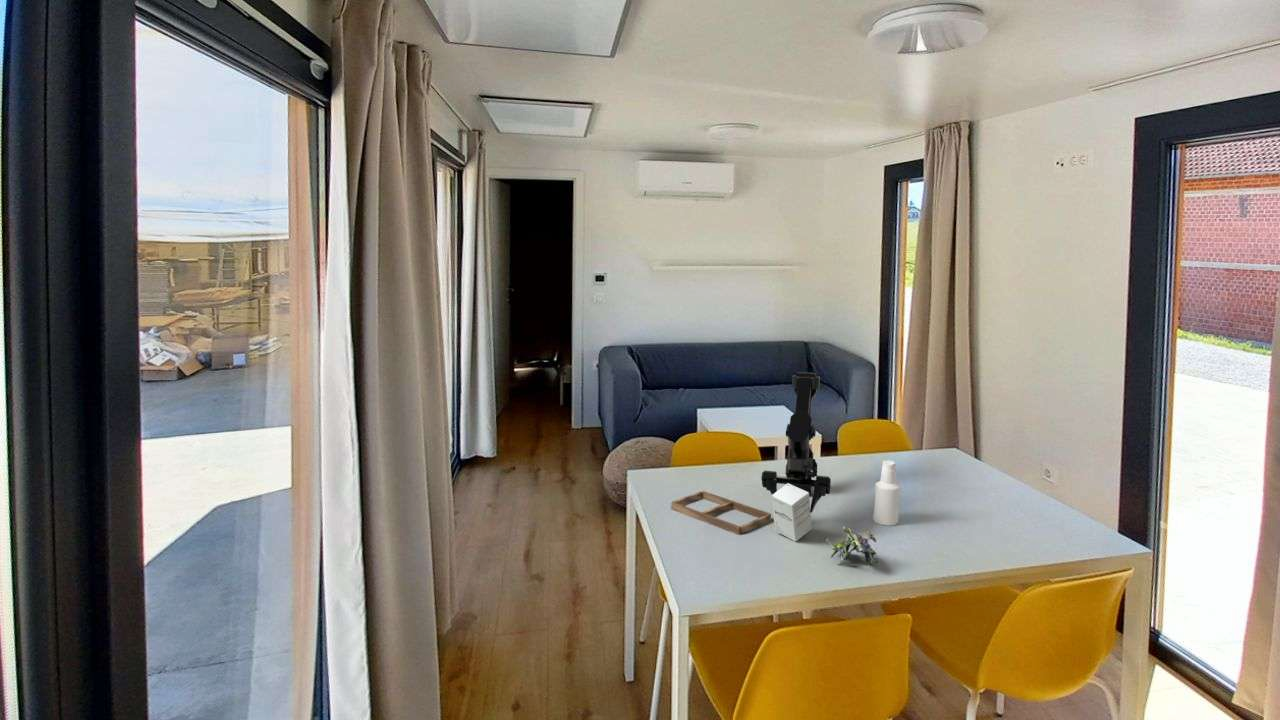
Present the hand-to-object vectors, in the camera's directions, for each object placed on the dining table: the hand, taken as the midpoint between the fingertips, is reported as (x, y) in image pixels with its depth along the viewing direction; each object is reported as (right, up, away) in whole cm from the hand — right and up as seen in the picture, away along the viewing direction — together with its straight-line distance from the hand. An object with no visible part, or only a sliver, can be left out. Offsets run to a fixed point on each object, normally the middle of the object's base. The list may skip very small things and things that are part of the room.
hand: (793, 510), depth 187 cm
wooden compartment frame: (-18, -5, +17) cm, 25 cm away
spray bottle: (+30, -6, +13) cm, 33 cm away
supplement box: (+1, -6, +3) cm, 7 cm away
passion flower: (+12, -11, -14) cm, 21 cm away
